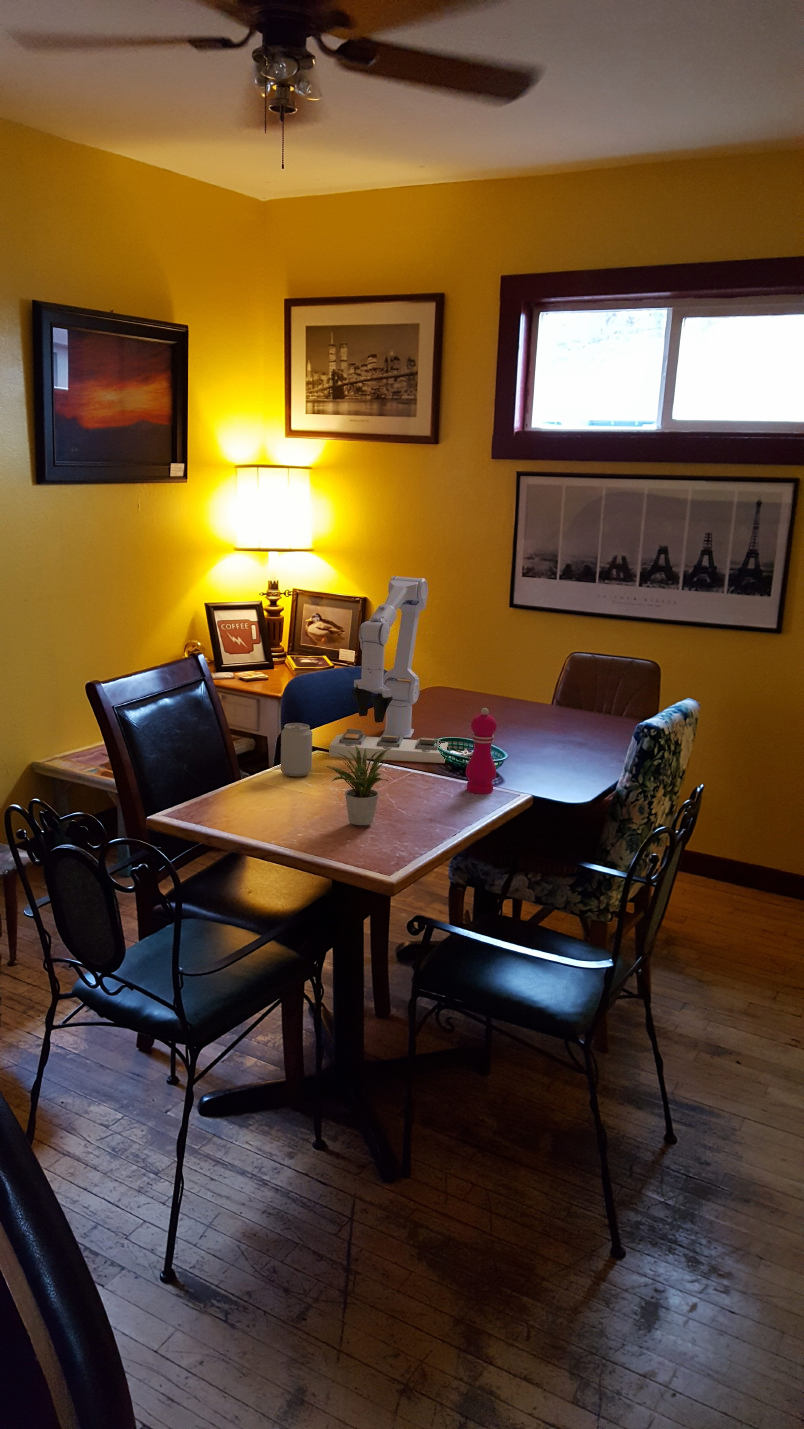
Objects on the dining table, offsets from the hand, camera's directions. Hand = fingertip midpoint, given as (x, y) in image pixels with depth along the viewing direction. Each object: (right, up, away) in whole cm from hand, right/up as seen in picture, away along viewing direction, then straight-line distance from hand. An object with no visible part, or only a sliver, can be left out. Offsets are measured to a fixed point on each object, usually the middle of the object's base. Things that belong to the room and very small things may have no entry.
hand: (370, 719), depth 267 cm
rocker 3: (+15, -6, +1) cm, 16 cm away
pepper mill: (+27, -17, -26) cm, 41 cm away
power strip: (+11, -10, +2) cm, 14 cm away
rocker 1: (-5, -4, +3) cm, 7 cm away
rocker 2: (+5, -5, +2) cm, 7 cm away
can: (-18, -13, -18) cm, 29 cm away
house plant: (0, -21, -50) cm, 54 cm away
